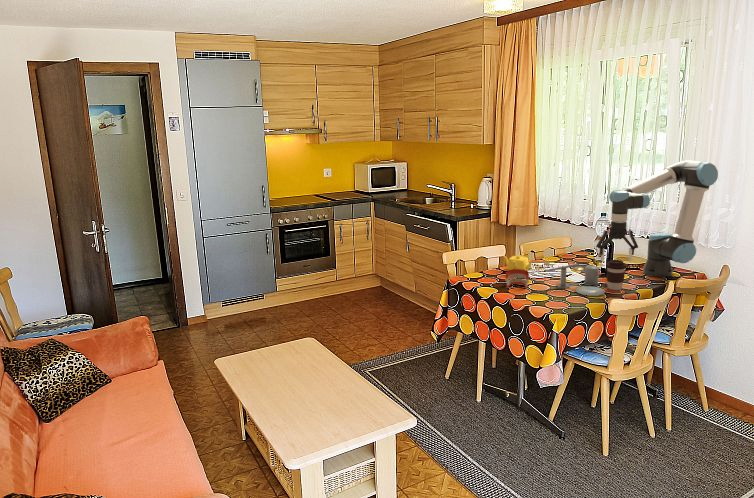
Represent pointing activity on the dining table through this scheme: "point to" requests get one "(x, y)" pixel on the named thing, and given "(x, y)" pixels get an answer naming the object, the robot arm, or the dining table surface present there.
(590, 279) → the grey rounded capsule
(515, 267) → the teapot
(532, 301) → the dining table surface
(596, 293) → the pale grey round disc
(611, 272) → the coffee cup
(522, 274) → the toy
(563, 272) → the balance
